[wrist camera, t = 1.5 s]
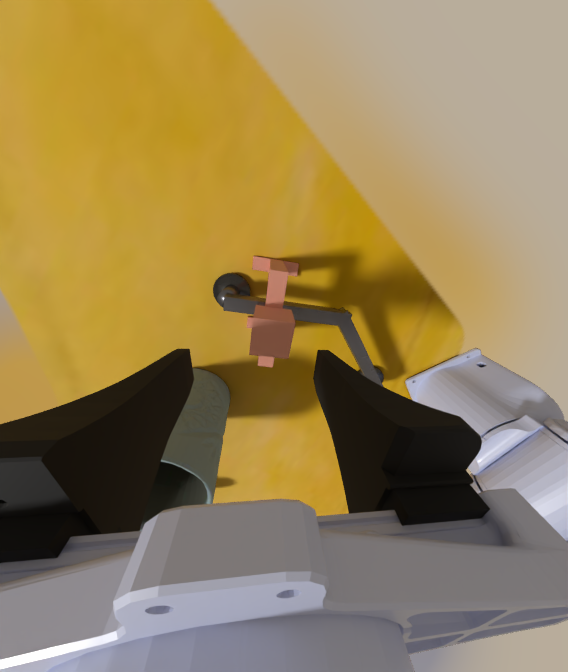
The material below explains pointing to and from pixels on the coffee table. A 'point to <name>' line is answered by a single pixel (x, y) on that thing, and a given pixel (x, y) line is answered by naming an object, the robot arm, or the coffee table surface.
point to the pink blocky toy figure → (272, 314)
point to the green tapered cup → (192, 449)
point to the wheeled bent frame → (297, 317)
